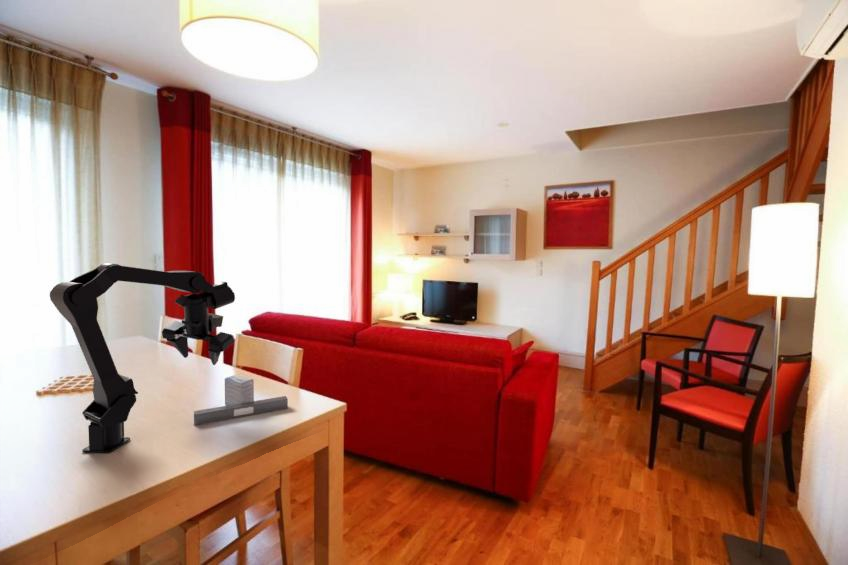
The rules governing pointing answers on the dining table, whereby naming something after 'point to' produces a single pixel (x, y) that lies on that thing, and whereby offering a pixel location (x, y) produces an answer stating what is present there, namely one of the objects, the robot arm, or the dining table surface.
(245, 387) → the medicine box
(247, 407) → the rail
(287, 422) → the dining table surface
